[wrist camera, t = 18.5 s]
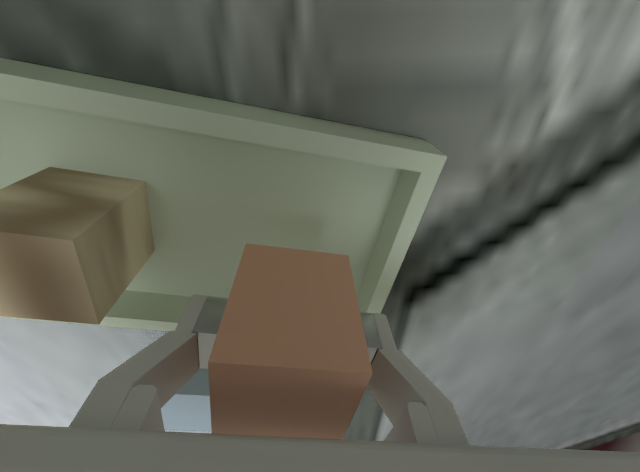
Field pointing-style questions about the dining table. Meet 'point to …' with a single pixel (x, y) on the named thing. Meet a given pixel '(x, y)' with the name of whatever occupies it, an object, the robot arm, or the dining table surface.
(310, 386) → the terracotta block
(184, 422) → the blue block
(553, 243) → the dining table surface
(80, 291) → the birch block
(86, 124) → the tray
